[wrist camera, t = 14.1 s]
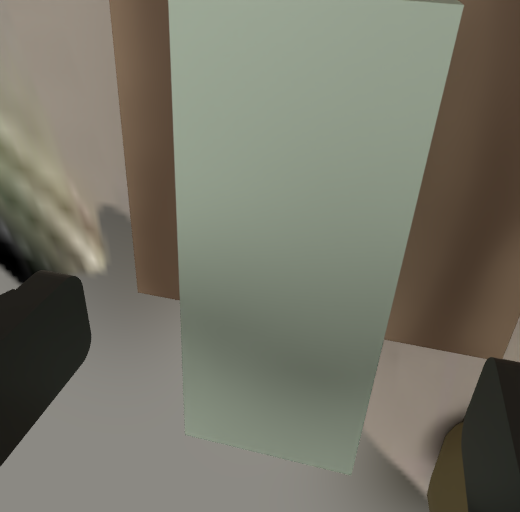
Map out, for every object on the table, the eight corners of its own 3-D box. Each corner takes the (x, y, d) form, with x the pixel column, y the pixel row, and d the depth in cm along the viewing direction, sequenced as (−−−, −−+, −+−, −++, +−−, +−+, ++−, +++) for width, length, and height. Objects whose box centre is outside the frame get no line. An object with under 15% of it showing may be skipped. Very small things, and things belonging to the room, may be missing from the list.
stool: (432, -20, 16) (464, 4, 8) (369, 283, 23) (351, 475, 14) (281, -31, 17) (167, -18, 9) (262, 264, 23) (185, 435, 15)
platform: (641, -114, 17) (700, -131, 14) (488, 310, 26) (501, 361, 23) (146, -128, 20) (94, -145, 17) (167, 254, 29) (137, 292, 26)
